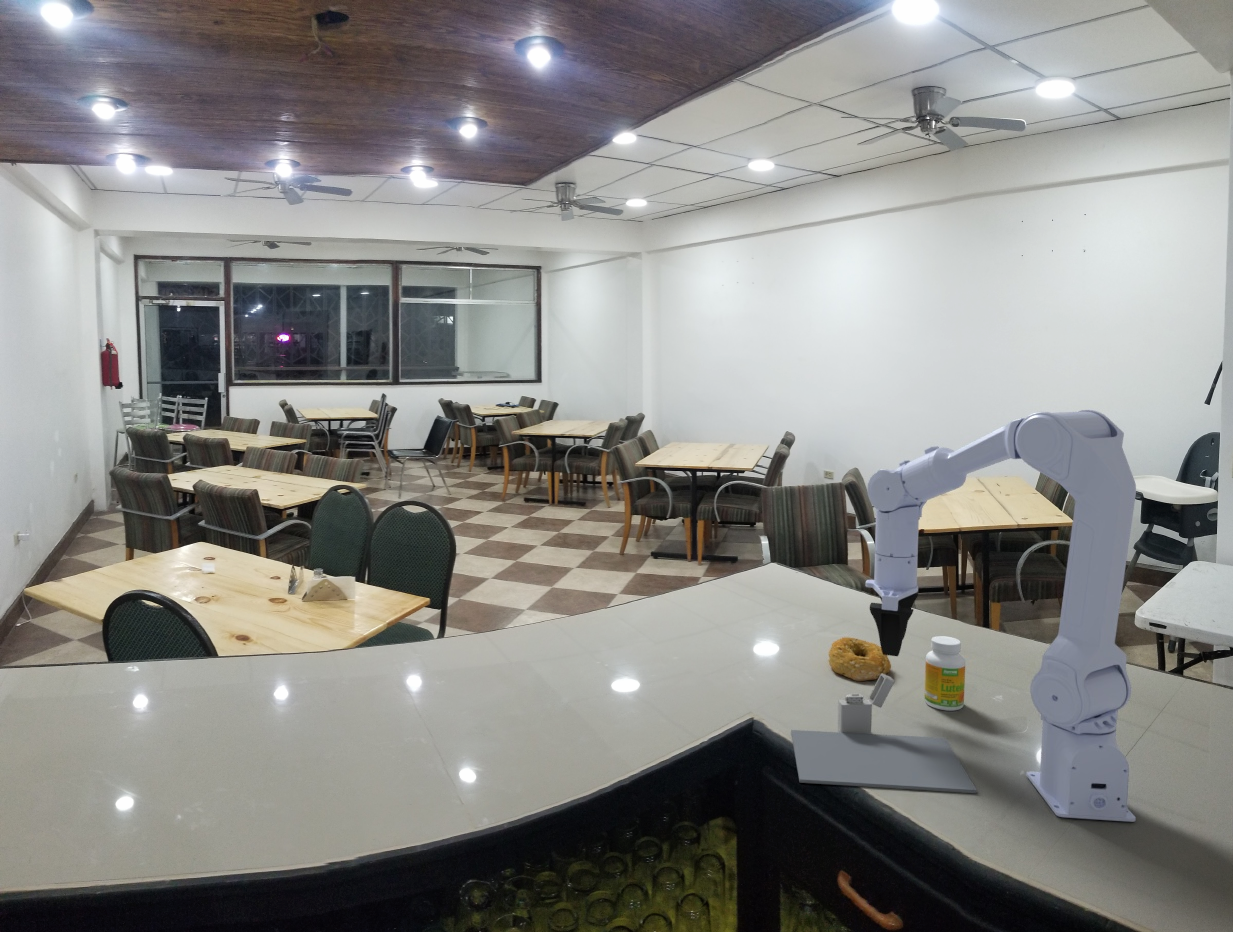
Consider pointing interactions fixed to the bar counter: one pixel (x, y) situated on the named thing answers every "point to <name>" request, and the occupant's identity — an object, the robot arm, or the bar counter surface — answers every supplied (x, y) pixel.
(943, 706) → the supplement bottle
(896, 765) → the mat
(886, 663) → the bagel
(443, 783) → the bar counter surface
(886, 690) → the lighter
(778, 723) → the bar counter surface
